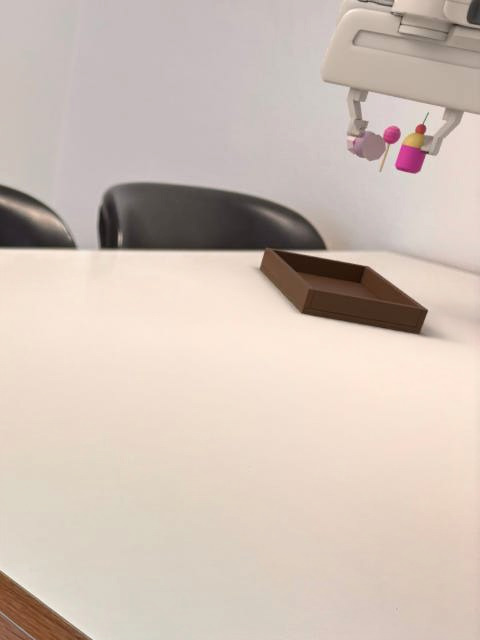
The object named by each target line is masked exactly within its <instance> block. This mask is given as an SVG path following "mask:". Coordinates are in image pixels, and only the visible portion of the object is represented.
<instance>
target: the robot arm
mask: <svg viewBox="0 0 480 640" xmlns="http://www.w3.org/2000/svg"><path fill="white" fill-rule="evenodd" d="M323 56H324V57H323V60H322V62H321V65H320V71H319V72H320V75H321V78H322V81H323V82H324V83H328V84H333V85H336V86H342V87H346V88H349V90H348V94H347V97H346V102H347V108H348V113H349V118H350V120H349V124H348V127H347V130H346V136H347V137H349V136H352V137H356V138H363V137H364V135H365V131H366V129H367V128H368V125H369V122H370V121H368V120H366V119H363V115H362V114H363V113H362V106H361V103H365V102H366V101H367V98H368V94H369V92H370V93H374V94H378V95H379V94H380V95H383V96H388V97H393V98H398V99H403V100H407V101H412V102H417V103H421V104H425V105H426V104H427V105H431V106H434V107H440V108H444V112H443V114H442V117H441V119H442V121H445V122H444V124H442V125H441V127H440V128H438V130H437V131H436V132H435V133H434V134H433V135H431V134H429V135H428V134H424V135H425V138H424V141H423V142H424V145H422V147H421V150H420V152H421V153H424V154H426V155H428V156H432V157H437V156H438V154H439V152H440V149H441V147H442V144H443V141H444V139H446V138H447V137H448V136H449V135H450V134H451V132H453V131H454V130H455V129H456V128H457V127H458V126H459V125H460V124H461V121H462V118H463V116H464V113H469V114H473V115H478V116H480V0H343V1H342V2H341V4H340V7H339V10H338V14H337V16H336V21H335V30H334V32H333V34H332V36H331V39H330V41H329V44H328V45H327V49H326V51H325V53H324V55H323Z"/></svg>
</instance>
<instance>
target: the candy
mask: <svg viewBox="0 0 480 640" xmlns="http://www.w3.org/2000/svg"><path fill="white" fill-rule="evenodd" d="M429 114H430V112H429V111H427V113H426V115H425V118H424V119H423V122H422V123H420V124H418V125H416V127H415V130H414V132H411V133H410V134H408V135H407V136H406V137H404V139H403V141H402V143H401V145H400V148H399V151H398V153H397V157H396V160H395V163H394V167H395V169H396V170H397V171H400V172H404V173H408V174H413V175H414V174H416V175H417V174H418V173H419V172H421V170H422V169H423V164H424V162H425V159H426V156H427V154H424V153H421V152H420V150H421V147H422V145H424V142H423V141H424V138H425V135H426V132H427V126H426V125H425V123H426V121H427V118H428V116H429ZM401 135H402V132H401V129H400V128H399V127H398V126H396V125H391V126H388V127H386V129H384V132H383V133H382V135H381V134H378V133H377V134H376V133H375V132H373V131H370V130H365V135H364V137H363V138H356V137H352V136H347V138H346V149H347V151H348V152H350V153H351V154H353V155H356V156H357V157H359V158H360V159H366V160H367V161H369V162H372V161H376V160H377V161H378V160H380V159H381V157H382V159H381V162H380V165H379V168H378V172H379V173H382V171H383V168H384V164H385V161H386V158H387V155H388V152H389V149H390V147H391V145H394V144H396V143H397V142H398V141H399V140H400V139H401Z"/></svg>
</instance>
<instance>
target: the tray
mask: <svg viewBox="0 0 480 640" xmlns="http://www.w3.org/2000/svg"><path fill="white" fill-rule="evenodd" d="M259 270H260V271H261V272H262V273H263V274H264V275H265V276H266V277H267V278H268V279H269V281H270V282H272V284H274V286H275V287H276V288H277V289H278V290H279V291H280V292H281V293H282V294H283V295H284V296H285V297H286V298H287V299H288V300H289V302H290V303H292V304H293V305H294V307H296V309H297V310H298V311H299V312H300V313H301V314H305V315H310V316H311V315H312V316H316V317H323V318H329V319H332V320H333V319H335V320H340V321H345V322H351V323H355V324H356V323H357V324H362V325H368V326H374V327H378V328H385V329H390V330H396V331H400V332H401V331H403V332H407V333H412V334H420V333H421V331H422V328H423V326H424V323H425V321H426V317H427V315H428V312H429V309H427V308H426V307H425V306H424V305H422V304H421V303H420V302H418V301H417V300H415V299H414V298H413V297H411V296H410V295H409V294H407V293H406V292H404V291H403V290H402V289H400V288H399V287H398V286H396V285H395V284H394V283H392V282H391V281H390V280H388V279H386V277H384V276H383V275H381V274H380V273H379V272H377V271H376V270H375V269H373V268H372V267H370V266H369V265H365V264H364V265H363V264H359V263H353V262H348V261H347V262H346V261H342V260H336V259H331V258H325V257H319V256H313V255H308V254H305V253H304V254H303V253H299V252H293V251H287V250H282V249H276V248H270V247H265V248H264V252H263V254H262V259H261V262H260V266H259Z"/></svg>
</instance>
